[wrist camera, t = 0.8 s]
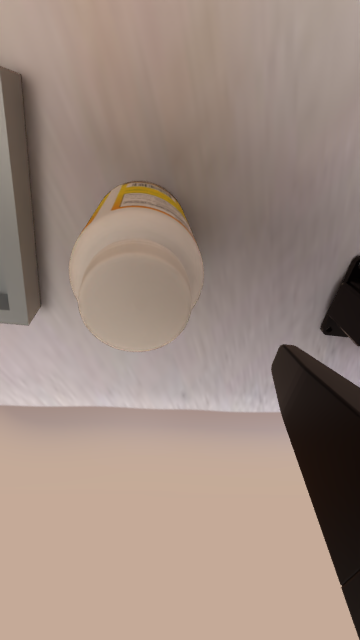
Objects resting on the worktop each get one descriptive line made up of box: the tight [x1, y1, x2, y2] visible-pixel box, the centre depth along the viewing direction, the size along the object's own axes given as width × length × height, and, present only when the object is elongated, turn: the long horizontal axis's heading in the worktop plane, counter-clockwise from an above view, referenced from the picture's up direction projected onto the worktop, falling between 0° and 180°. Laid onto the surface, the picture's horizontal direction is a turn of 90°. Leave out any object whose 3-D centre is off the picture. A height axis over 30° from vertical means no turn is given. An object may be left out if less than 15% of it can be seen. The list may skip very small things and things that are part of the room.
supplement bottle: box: [69, 181, 204, 352], centre depth 15 cm, size 6×6×10 cm
